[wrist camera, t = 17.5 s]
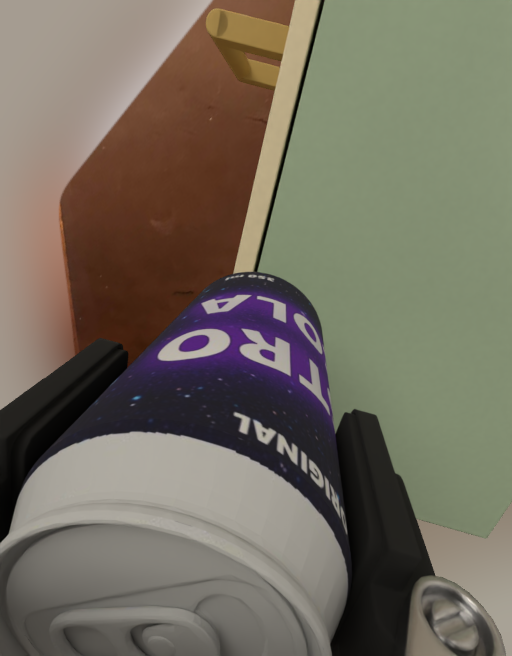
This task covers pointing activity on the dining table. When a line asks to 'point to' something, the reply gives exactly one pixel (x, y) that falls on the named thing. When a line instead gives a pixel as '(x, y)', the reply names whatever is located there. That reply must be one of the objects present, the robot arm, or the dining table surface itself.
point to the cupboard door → (287, 82)
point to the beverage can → (191, 497)
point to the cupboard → (411, 238)
